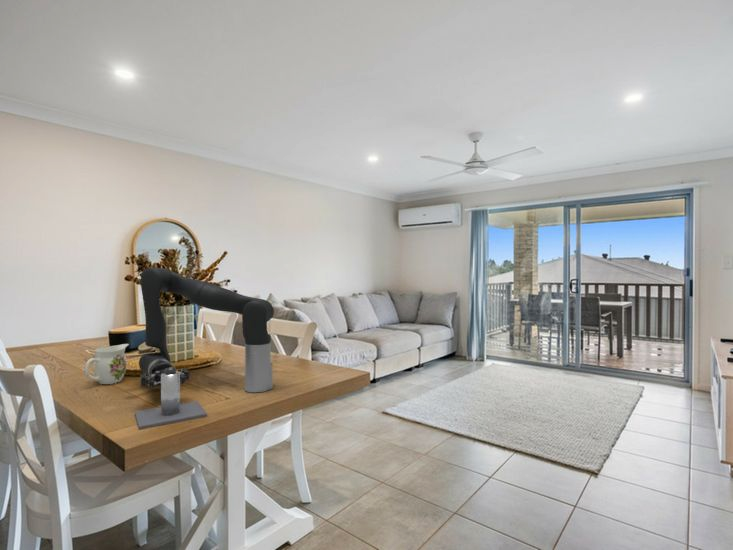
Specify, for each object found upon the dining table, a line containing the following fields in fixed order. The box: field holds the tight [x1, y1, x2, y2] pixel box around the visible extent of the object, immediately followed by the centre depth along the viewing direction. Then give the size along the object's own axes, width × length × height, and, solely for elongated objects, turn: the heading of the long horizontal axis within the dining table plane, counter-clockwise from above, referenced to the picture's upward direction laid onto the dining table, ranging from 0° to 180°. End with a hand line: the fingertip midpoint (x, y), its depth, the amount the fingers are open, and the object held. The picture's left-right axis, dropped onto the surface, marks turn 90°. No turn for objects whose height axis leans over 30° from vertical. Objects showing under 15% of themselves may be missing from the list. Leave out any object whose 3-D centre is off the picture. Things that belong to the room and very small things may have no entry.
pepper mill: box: [160, 366, 181, 416], centre depth 122 cm, size 5×5×14 cm
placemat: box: [134, 400, 208, 430], centre depth 122 cm, size 18×14×1 cm
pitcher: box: [84, 343, 130, 385], centre depth 155 cm, size 11×18×14 cm, turn 162°
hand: (168, 382), depth 126 cm, fingers open, 8 cm apart
